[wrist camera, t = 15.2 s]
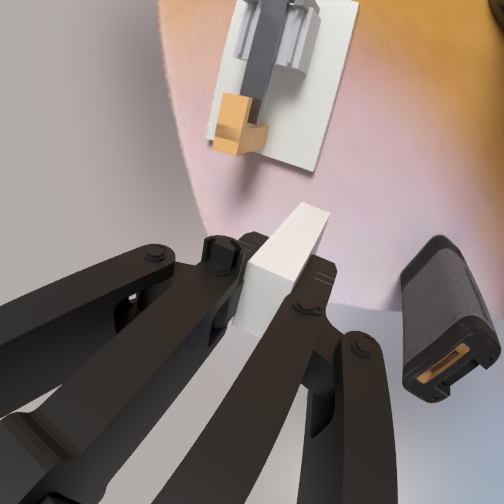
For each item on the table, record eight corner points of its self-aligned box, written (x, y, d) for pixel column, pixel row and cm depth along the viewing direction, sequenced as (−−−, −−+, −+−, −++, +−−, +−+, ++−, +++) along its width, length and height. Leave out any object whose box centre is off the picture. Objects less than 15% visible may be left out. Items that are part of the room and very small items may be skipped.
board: (244, -11, 28) (216, -31, 21) (359, 5, 24) (354, -20, 18) (209, 137, 41) (177, 144, 34) (314, 170, 37) (300, 182, 30)
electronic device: (423, 298, 38) (432, 409, 21) (395, 276, 38) (394, 385, 22) (465, 254, 32) (508, 355, 16) (437, 228, 33) (475, 322, 16)
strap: (262, -7, 23) (258, -10, 22) (299, -3, 22) (296, -7, 21) (231, 117, 32) (226, 117, 31) (265, 126, 31) (262, 126, 30)
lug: (253, 96, 34) (223, 92, 27) (275, 101, 33) (248, 97, 27) (243, 141, 38) (211, 149, 31) (263, 147, 37) (235, 156, 30)
